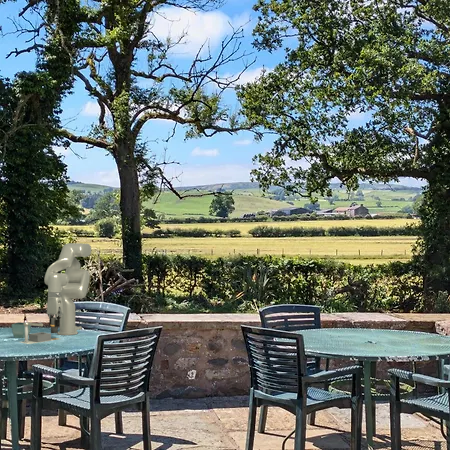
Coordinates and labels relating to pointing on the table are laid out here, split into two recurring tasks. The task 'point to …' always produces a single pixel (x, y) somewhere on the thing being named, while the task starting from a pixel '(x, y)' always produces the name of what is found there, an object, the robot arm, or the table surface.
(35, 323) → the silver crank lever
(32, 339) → the socket plate
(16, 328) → the flower pot
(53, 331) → the plug
